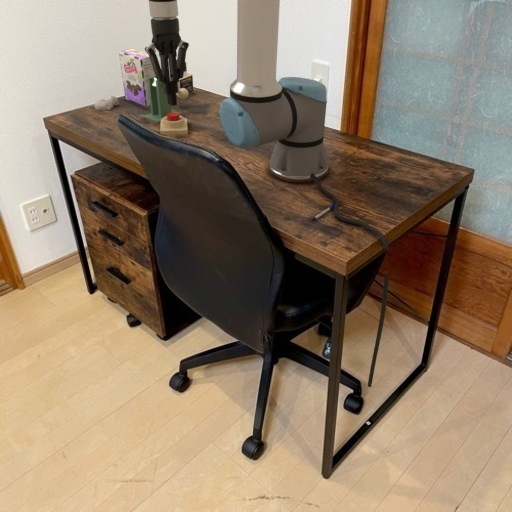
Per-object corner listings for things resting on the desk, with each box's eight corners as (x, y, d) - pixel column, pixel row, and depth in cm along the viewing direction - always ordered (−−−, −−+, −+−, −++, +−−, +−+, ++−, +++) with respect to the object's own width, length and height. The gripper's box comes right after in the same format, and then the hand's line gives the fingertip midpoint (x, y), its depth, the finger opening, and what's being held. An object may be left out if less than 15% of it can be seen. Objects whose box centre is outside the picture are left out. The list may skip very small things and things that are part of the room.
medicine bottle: (181, 99, 186) (178, 64, 179) (165, 96, 189) (162, 61, 182) (194, 94, 191) (191, 59, 184) (178, 90, 194) (176, 57, 187)
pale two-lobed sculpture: (100, 118, 173) (92, 109, 175) (121, 112, 178) (113, 104, 180) (100, 106, 170) (91, 98, 172) (121, 100, 174) (113, 92, 176)
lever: (181, 99, 176) (184, 88, 175) (188, 101, 174) (192, 91, 173) (149, 86, 164) (153, 75, 163) (157, 89, 162) (160, 77, 161)
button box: (188, 137, 156) (187, 124, 154) (160, 138, 156) (159, 125, 153) (187, 125, 165) (186, 112, 162) (161, 126, 164) (160, 113, 162)
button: (179, 121, 157) (179, 116, 156) (167, 122, 156) (166, 116, 155) (179, 117, 160) (179, 112, 159) (167, 118, 159) (166, 112, 158)
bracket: (166, 111, 175) (162, 72, 168) (181, 116, 171) (178, 76, 164) (142, 119, 169) (137, 78, 162) (157, 124, 165) (152, 83, 158)
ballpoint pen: (336, 203, 123) (337, 199, 122) (340, 204, 123) (340, 200, 122) (311, 220, 116) (312, 216, 116) (315, 222, 116) (315, 218, 115)
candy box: (124, 99, 185) (117, 50, 176) (139, 96, 189) (133, 48, 179) (146, 109, 177) (140, 58, 168) (160, 105, 180) (155, 55, 171)
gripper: (178, 13, 148) (185, 97, 161) (136, 18, 141) (146, 105, 154) (192, 16, 143) (198, 103, 156) (149, 22, 136) (158, 112, 149)
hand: (172, 104), depth 155 cm, fingers closed
